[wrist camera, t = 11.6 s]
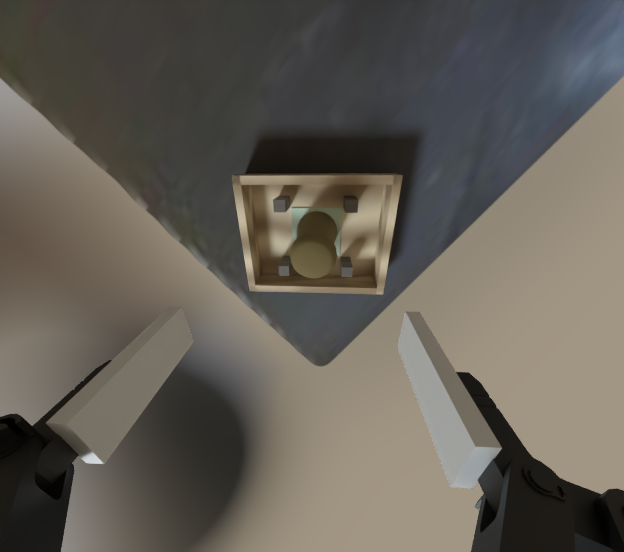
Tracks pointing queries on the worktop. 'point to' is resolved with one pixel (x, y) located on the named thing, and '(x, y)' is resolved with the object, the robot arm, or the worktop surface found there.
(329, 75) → the worktop surface
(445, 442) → the robot arm
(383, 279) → the socket box
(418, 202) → the worktop surface
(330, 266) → the cork
